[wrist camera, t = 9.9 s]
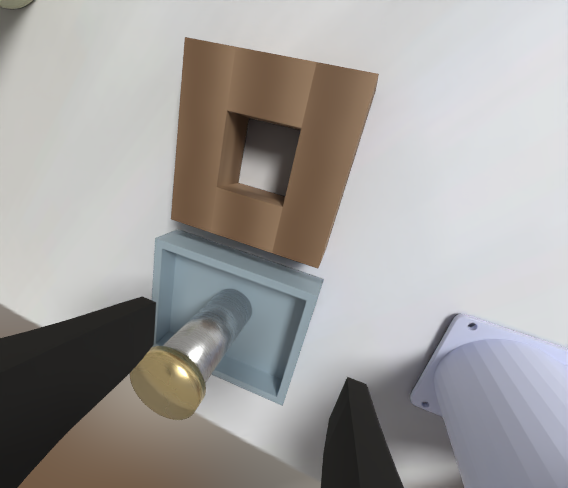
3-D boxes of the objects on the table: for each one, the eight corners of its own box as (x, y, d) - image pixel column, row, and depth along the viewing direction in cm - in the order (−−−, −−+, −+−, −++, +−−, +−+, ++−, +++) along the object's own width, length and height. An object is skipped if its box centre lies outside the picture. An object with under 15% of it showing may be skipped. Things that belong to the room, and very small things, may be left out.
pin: (261, 294, 20) (200, 376, 12) (252, 336, 21) (193, 431, 14) (213, 276, 20) (129, 344, 13) (207, 318, 22) (129, 400, 15)
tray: (323, 279, 19) (318, 295, 17) (290, 380, 23) (282, 405, 20) (177, 229, 21) (155, 238, 19) (169, 329, 25) (149, 346, 22)
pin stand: (376, 89, 15) (378, 73, 12) (324, 251, 18) (318, 268, 16) (214, 57, 17) (184, 37, 14) (197, 210, 20) (170, 219, 17)
